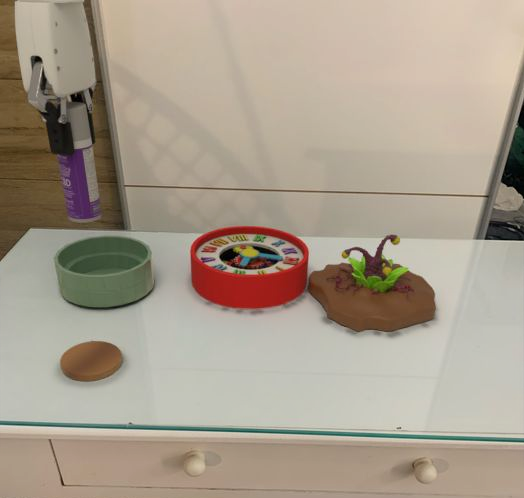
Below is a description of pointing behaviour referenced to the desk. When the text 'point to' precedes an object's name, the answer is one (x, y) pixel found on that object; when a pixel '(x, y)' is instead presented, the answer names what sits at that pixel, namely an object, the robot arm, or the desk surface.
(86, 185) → the container
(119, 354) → the coaster
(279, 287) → the toy clock
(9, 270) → the desk surface
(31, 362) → the desk surface
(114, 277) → the bowl
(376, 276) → the plant
